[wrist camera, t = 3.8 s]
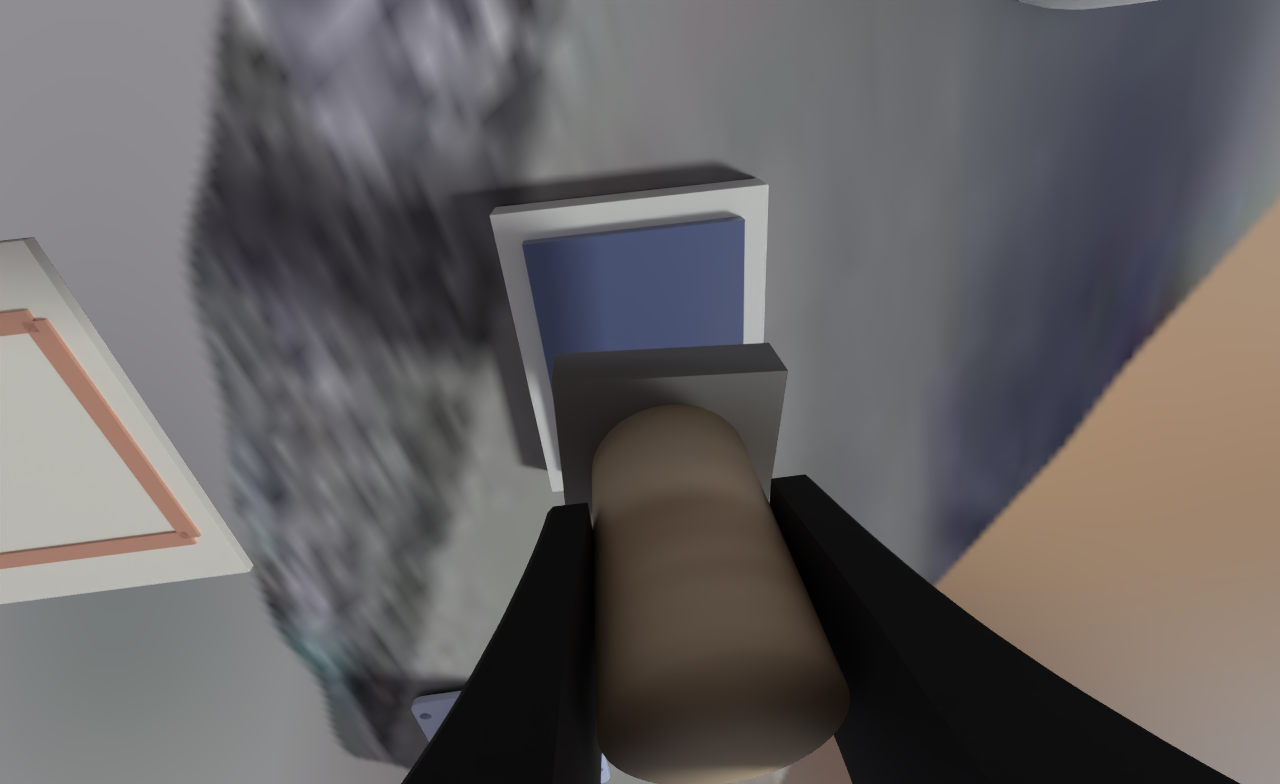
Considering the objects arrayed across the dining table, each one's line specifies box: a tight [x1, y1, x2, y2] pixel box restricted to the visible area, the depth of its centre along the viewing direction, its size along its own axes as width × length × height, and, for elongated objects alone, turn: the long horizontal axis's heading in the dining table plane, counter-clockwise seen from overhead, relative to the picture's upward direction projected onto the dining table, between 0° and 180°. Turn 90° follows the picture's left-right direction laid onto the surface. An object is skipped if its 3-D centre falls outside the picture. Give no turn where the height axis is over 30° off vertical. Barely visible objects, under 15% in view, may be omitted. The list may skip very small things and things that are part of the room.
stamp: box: [552, 343, 850, 784], centre depth 9 cm, size 4×4×6 cm
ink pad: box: [490, 178, 769, 492], centre depth 16 cm, size 9×7×1 cm
